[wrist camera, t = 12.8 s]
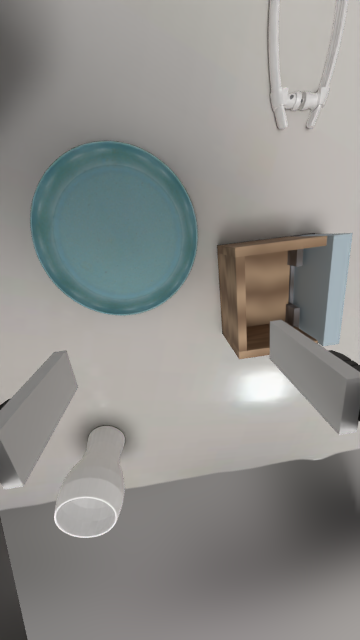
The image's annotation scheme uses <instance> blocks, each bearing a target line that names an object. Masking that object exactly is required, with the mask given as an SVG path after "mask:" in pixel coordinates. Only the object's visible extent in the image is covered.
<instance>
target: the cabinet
mask: <svg viewBox="0 0 360 640" xmlns="http://www.w3.org/2000/svg"><path fill="white" fill-rule="evenodd" d="M312 234H315V233H312ZM304 235H310V234H304ZM326 244H327V236H302V235H296V236H290V237H280V238H272V239H265V240H257V241H249V242H241V243H233V244H225V245H217V252H218V269H219V285H220V301H221V318H222V334H223V335H224V337H225V338H226V340H227V341H228V343H229V344H230V346H231V347H232V349H233V350H234V352H235V353H236V355H237V356H238V358H239V359H244V358H251V357H258V356H264V355H270V321H276V320H283V321H284V322H286V323H287V324H289V325H290V326H292V327H293V328H295V329H296V330H298V331H299V332H301V333H302V334H304V335H305V336H307V337H308V338H310V339H311V340H313V341H314V342H316V343H317V344H318V340H316V339H315V338H313V337H312V336H310V335H308V334H307V333H305V332H304V331H302V330H301V329H299V318H300V308H299V307H297V306H295V305H293V292H294V271H295V266H296V267H298V266H303V249H304V248H312V247H320V246H326Z"/></svg>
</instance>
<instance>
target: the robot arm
mask: <svg viewBox="0 0 360 640" xmlns="http://www.w3.org/2000/svg"><path fill="white" fill-rule="evenodd" d="M270 360H271V361H272V362H273V363H274V364H275V365H276V366H277V367H278V368H279V370H280V371H281V372H282V373H283V374H284V375H285V376H286V377H287V378H288V379H289V380H290V382H291V383H292V384H293V385H294V386H295V387H296V388H297V389H298V390H299V391H300V393H301V394H302V395H303V396H304V397H305V398H306V399H307V400H308V401H309V402H310V404H311V405H312V406H313V407H314V408H315V409H316V410H317V411H318V412H319V413H320V414H321V416H322V417H323V418H324V419H325V420H326V421H327V422H328V423H329V424H330V425H331V427H332V428H333V429H334V430H335V431H336V432H337V433H338V434H339V435H342V434H348V433H354V432H357V427H358V421H360V365H358V364H357V363H356V362H354V361H351V359H349V358H348V357H346V356H345V355H343V354H341V353H338V352H335V351H332V350H330V351H328V350H326V349H325V348H323V347H322V346H320V345H319V344H317V343H316V342H314V341H313V340H311V339H310V338H308V337H307V336H305V335H304V334H302V333H301V332H299V331H298V330H296V329H295V328H293V327H292V326H290V325H289V324H287V323H286V322H284V321H283V320H276V321H270ZM77 388H78V385H77V382H76V379H75V376H74V373H73V370H72V366H71V363H70V360H69V357H68V354H67V351H59V352H54V353H53V354H52V355H51V356H50V357H49V358H48V359H47V360H46V362H45V363H44V364H43V365H42V366H41V367H40V368H39V369H38V370H37V371H36V372H35V373H34V374H33V376H32V377H31V378H30V379H29V380H28V381H27V382H26V383H25V384H24V385H23V386H22V387H21V388H20V390H19V391H18V392H17V393H16V394H15V395H14V396H13V397H12V398H11V399H8V400H7V401H5V402H4V403H3V404H1V405H0V483H1V485H2V486H3V488H4V489H10V488H16V487H22V486H24V485H25V483H26V481H27V479H28V477H29V475H30V474H31V472H32V470H33V468H34V466H35V465H36V463H37V461H38V459H39V457H40V455H41V454H42V452H43V450H44V448H45V446H46V445H47V443H48V441H49V439H50V437H51V436H52V434H53V432H54V430H55V428H56V426H57V425H58V423H59V421H60V419H61V417H62V416H63V414H64V412H65V410H66V408H67V406H68V405H69V403H70V401H71V399H72V397H73V396H74V394H75V392H76V390H77ZM0 640H27V635H26V631H25V626H24V622H23V618H22V613H21V608H20V604H19V599H18V595H17V590H16V586H15V582H14V577H13V572H12V568H11V564H10V559H9V554H8V550H7V545H6V541H5V536H4V532H3V527H2V523H1V518H0Z"/></svg>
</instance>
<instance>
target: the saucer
mask: <svg viewBox="0 0 360 640" xmlns="http://www.w3.org/2000/svg"><path fill="white" fill-rule="evenodd" d="M30 228H31V235H32V240H33V244H34V248H35V251H36V254H37V257H38V259H39V261H40V263H41V265H42V267H43V269H44V270H45V272H46V273H47V275H48V276H49V278H50V279H51V280H52V282H53V283H54V284H55V285H56V286H57V287H58V288H59V289H60V290H61V291H62V292H63V293H64V294H66V295H67V296H68V297H69V298H71V299H72V300H74V301H75V302H77V303H78V304H80V305H82V306H84V307H86V308H88V309H91V310H94V311H96V312H100V313H104V314H109V315H133V314H139V313H143V312H146V311H149V310H152V309H154V308H156V307H158V306H159V305H161V304H163V303H164V302H166V301H167V300H168V299H169V298H171V297H172V296H173V295H174V294H175V293H176V292H177V291H178V290H179V289H180V287H181V286H182V285H183V283H184V282H185V280H186V279H187V277H188V275H189V273H190V271H191V269H192V266H193V263H194V260H195V256H196V251H197V243H198V228H197V221H196V216H195V212H194V208H193V205H192V202H191V200H190V197H189V195H188V193H187V191H186V189H185V188H184V186H183V184H182V183H181V181H180V180H179V179H178V177H177V176H176V175H175V174H174V172H173V171H172V170H171V169H170V168H169V167H168V166H167V165H166V164H165V163H164V162H162V161H161V160H160V159H158V158H157V157H156V156H154V155H153V154H151V153H149V152H147V151H146V150H144V149H141V148H139V147H137V146H134V145H131V144H127V143H123V142H118V141H96V142H90V143H86V144H83V145H80V146H77V147H75V148H73V149H71V150H69V151H67V152H66V153H64V154H63V155H61V156H60V157H59V158H58V159H56V160H55V161H54V162H53V163H52V164H51V165H50V166H49V168H48V169H47V170H46V172H45V173H44V175H43V176H42V178H41V180H40V181H39V183H38V185H37V188H36V190H35V193H34V196H33V200H32V204H31V213H30Z"/></svg>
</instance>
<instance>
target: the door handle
mask: <svg viewBox="0 0 360 640" xmlns="http://www.w3.org/2000/svg"><path fill="white" fill-rule="evenodd" d="M279 4H280V0H270V7H269V28H268V52H269V72H270V83H271V94H270V98H271V104H272V109H273V112H275V118H276V122H277V126H278V128H279V129H285V128H286V127H287V126H288V123H287V118H286V113H285V109H290V110H297V109H298V108H299V110H306V109H308V108H310V112H311V113H310V116H309V118H308V121H307V126H306V127H308V128H311V129H313V127H314V125H315V122H316V120H317V118H318V115H319V113H320V110H321V109H322V108H323V106H324V104H325V101H326V99H327V96H328V94H329V91H330V88H329V85H330V81H331V78H332V75H333V72H334V68H335V64H336V60H337V56H338V52H339V49H340V44H341V39H342V34H343V30H344V25H345V19H346V13H347V7H348V0H336V7H335V16H334V23H333V29H332V35H331V40H330V46H329V51H328V56H327V60H326V64H325V68H324V72H323V76H322V79H321V83H320V86H319V89H318V91H317V92H316V93H311V92H309V91H304V92H303V93H302V92H301V91H297V92H294V93H288V87H281V78H280V68H279V45H278V43H279Z"/></svg>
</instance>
